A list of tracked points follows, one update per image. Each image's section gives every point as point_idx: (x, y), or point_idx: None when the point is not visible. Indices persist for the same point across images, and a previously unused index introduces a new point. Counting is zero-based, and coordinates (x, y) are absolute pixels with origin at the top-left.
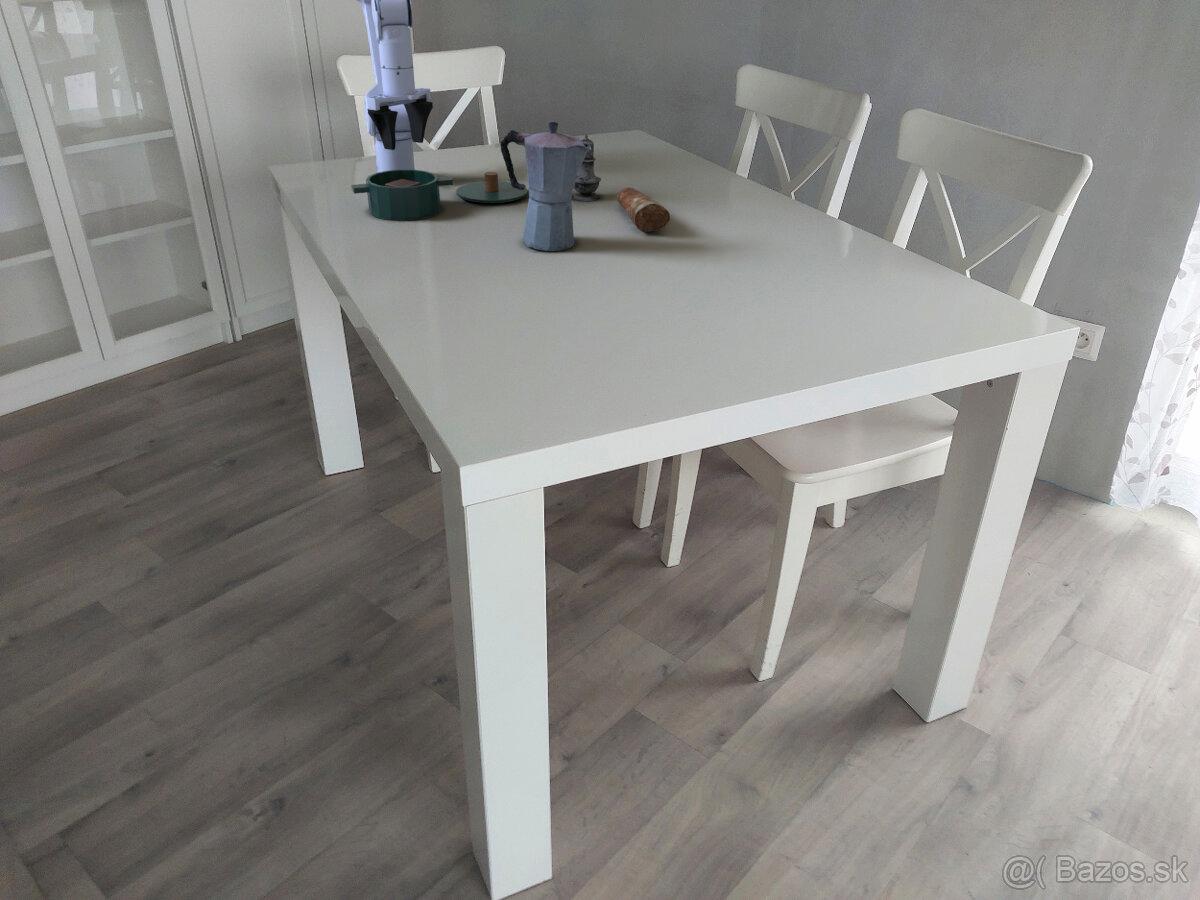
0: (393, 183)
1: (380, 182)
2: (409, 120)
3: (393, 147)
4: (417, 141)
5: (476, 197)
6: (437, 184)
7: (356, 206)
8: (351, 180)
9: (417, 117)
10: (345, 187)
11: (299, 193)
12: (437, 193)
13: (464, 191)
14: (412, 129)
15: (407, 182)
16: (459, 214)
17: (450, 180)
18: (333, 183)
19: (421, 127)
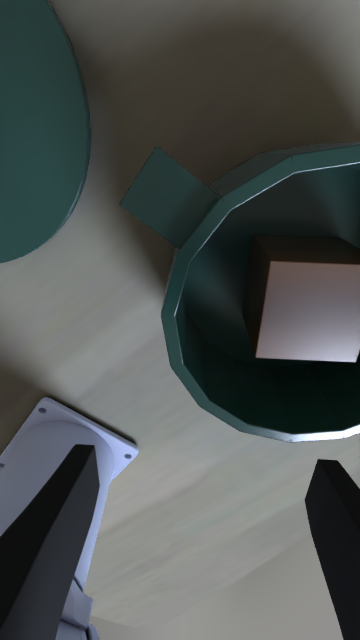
0: (334, 342)
1: (281, 408)
2: (56, 634)
3: (341, 469)
4: (96, 467)
5: (57, 100)
6: (261, 168)
7: None
8: (132, 521)
9: (27, 636)
10: (184, 503)
11: (276, 537)
12: (272, 155)
13: (31, 207)
14: (76, 554)
15: (294, 308)
16: (233, 56)
17: (167, 154)
18: (175, 532)
19: (55, 529)
